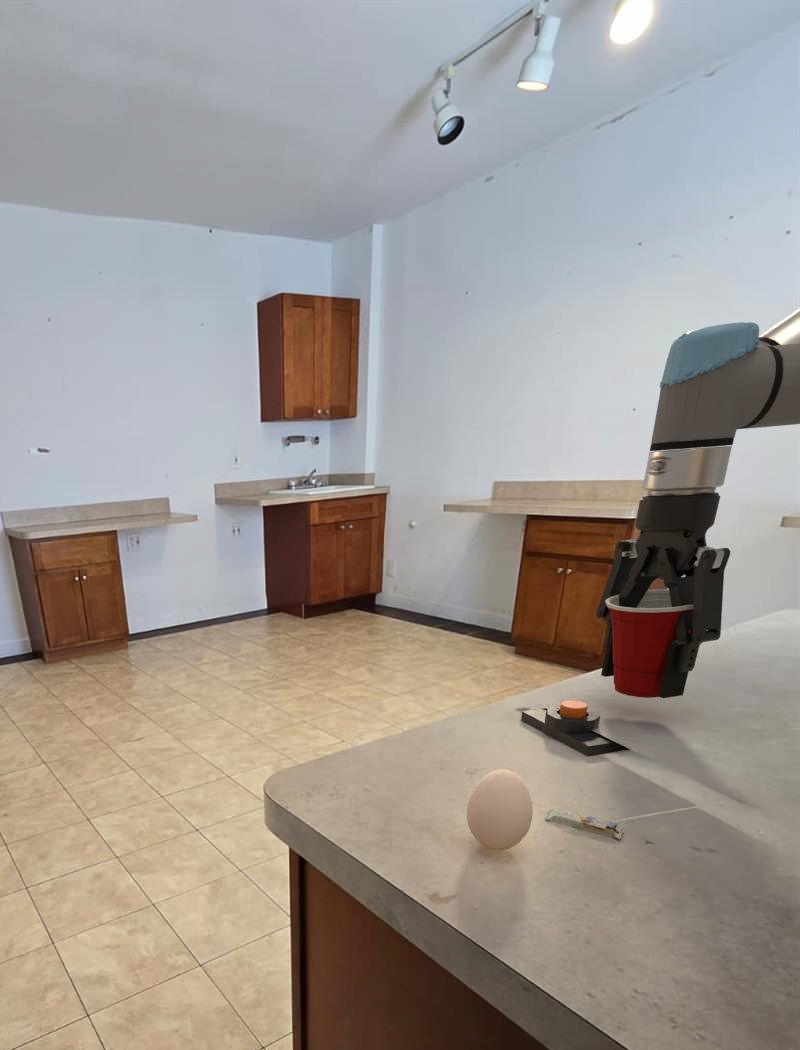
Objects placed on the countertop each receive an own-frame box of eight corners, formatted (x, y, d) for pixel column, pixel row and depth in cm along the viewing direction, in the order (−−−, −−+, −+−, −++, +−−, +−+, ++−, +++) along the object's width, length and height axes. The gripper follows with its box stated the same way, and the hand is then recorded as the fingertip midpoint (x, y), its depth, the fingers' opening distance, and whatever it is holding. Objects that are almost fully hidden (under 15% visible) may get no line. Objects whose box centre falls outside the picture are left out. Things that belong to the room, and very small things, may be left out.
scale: (636, 704, 90) (641, 683, 89) (718, 736, 78) (724, 713, 77) (517, 721, 87) (520, 700, 86) (583, 757, 75) (587, 734, 74)
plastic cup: (579, 678, 87) (594, 589, 82) (668, 678, 85) (689, 585, 80) (605, 705, 77) (623, 605, 72) (706, 705, 75) (732, 602, 70)
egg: (538, 860, 57) (551, 781, 54) (479, 866, 57) (488, 787, 54) (509, 829, 62) (519, 755, 59) (454, 835, 62) (461, 761, 59)
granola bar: (542, 823, 63) (543, 813, 63) (549, 814, 65) (551, 804, 64) (619, 843, 59) (621, 833, 59) (625, 833, 61) (627, 823, 60)
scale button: (574, 710, 82) (576, 699, 82) (591, 718, 79) (593, 706, 79) (553, 713, 82) (555, 702, 81) (569, 721, 79) (571, 709, 78)
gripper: (583, 493, 80) (557, 666, 90) (739, 495, 61) (685, 716, 70) (635, 488, 82) (604, 660, 91) (805, 489, 62) (743, 707, 72)
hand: (639, 684), depth 81 cm, fingers closed on plastic cup, 9 cm apart
